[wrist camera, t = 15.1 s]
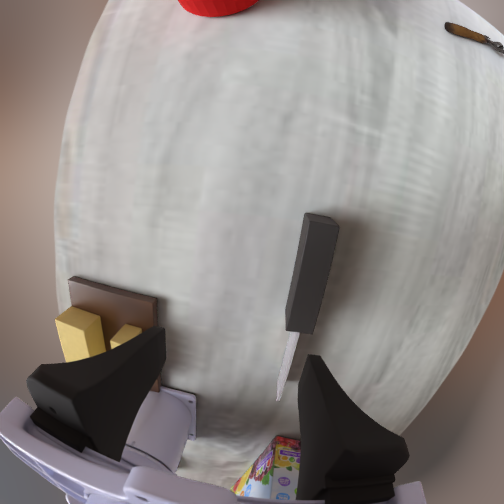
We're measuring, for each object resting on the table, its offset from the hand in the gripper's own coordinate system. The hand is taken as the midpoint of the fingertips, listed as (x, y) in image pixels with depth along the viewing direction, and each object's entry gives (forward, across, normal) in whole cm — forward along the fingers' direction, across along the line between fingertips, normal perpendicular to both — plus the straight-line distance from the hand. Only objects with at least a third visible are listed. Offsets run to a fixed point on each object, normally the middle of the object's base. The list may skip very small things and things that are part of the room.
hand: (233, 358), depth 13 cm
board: (+9, +13, +9) cm, 18 cm away
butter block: (+8, +16, +9) cm, 20 cm away
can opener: (+8, -20, -25) cm, 33 cm away
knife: (+9, -4, +2) cm, 10 cm away
